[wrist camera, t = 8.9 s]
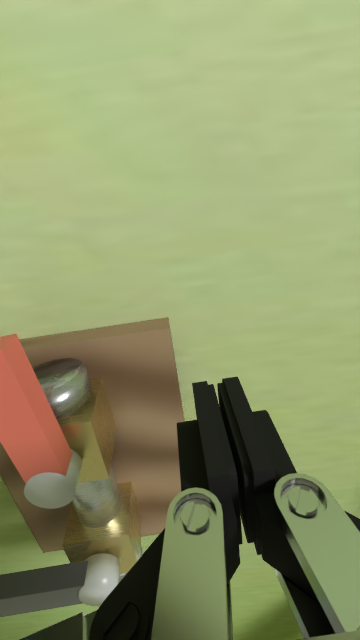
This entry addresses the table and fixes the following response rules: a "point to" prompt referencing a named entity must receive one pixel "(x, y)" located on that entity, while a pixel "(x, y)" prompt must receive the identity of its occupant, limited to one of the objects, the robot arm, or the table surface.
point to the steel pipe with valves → (92, 467)
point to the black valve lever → (59, 585)
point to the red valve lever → (34, 432)
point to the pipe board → (118, 418)
